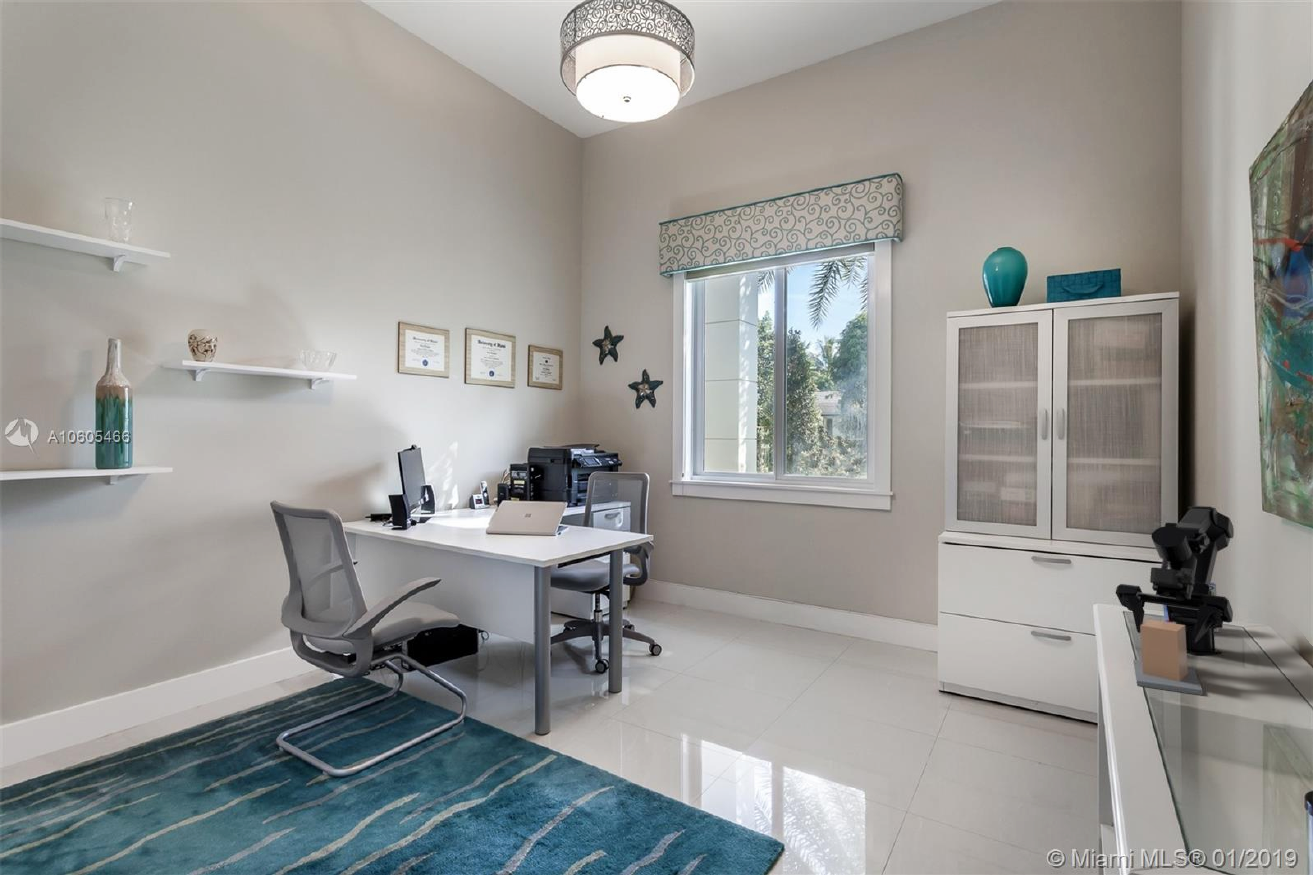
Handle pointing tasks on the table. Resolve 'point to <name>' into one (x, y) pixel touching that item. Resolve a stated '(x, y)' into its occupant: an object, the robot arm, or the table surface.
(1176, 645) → the cover box
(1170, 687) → the post board
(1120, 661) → the table surface
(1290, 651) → the table surface
